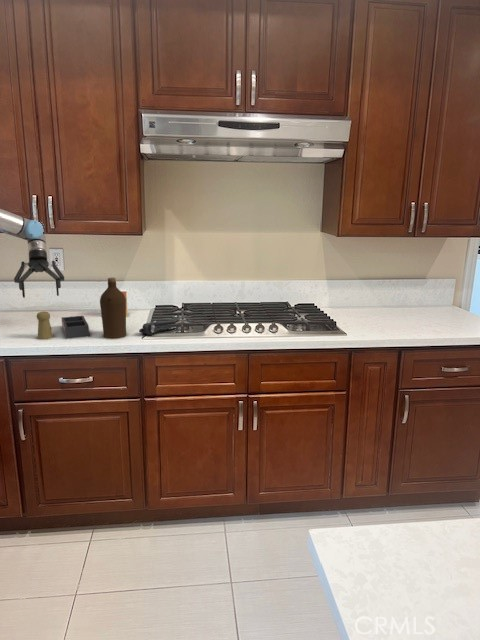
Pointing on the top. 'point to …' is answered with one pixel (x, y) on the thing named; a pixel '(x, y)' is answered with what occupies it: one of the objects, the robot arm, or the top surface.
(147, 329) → the can opener
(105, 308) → the olive oil
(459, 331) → the top surface
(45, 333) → the cork
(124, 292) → the small box
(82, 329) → the dark grey hollow block
